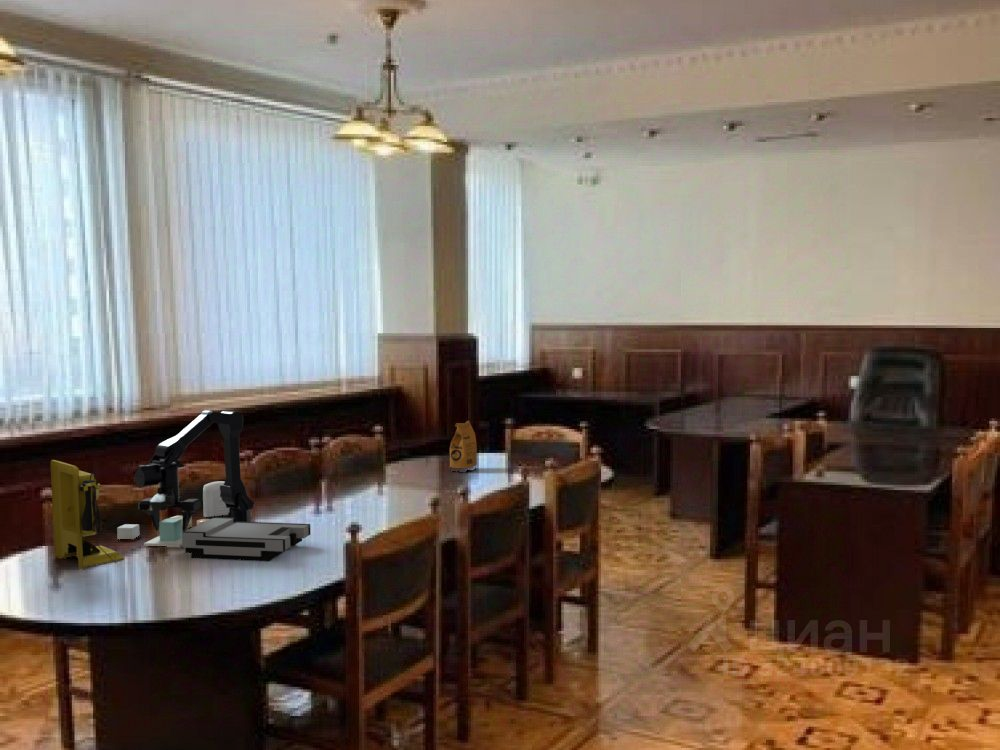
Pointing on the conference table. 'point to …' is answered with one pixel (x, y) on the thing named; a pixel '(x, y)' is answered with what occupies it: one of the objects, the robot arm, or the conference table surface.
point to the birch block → (182, 520)
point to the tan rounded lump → (202, 521)
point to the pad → (164, 542)
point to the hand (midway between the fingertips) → (170, 531)
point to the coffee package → (463, 447)
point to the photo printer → (213, 500)
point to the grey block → (128, 531)
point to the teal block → (170, 529)
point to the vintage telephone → (77, 515)
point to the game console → (241, 539)
